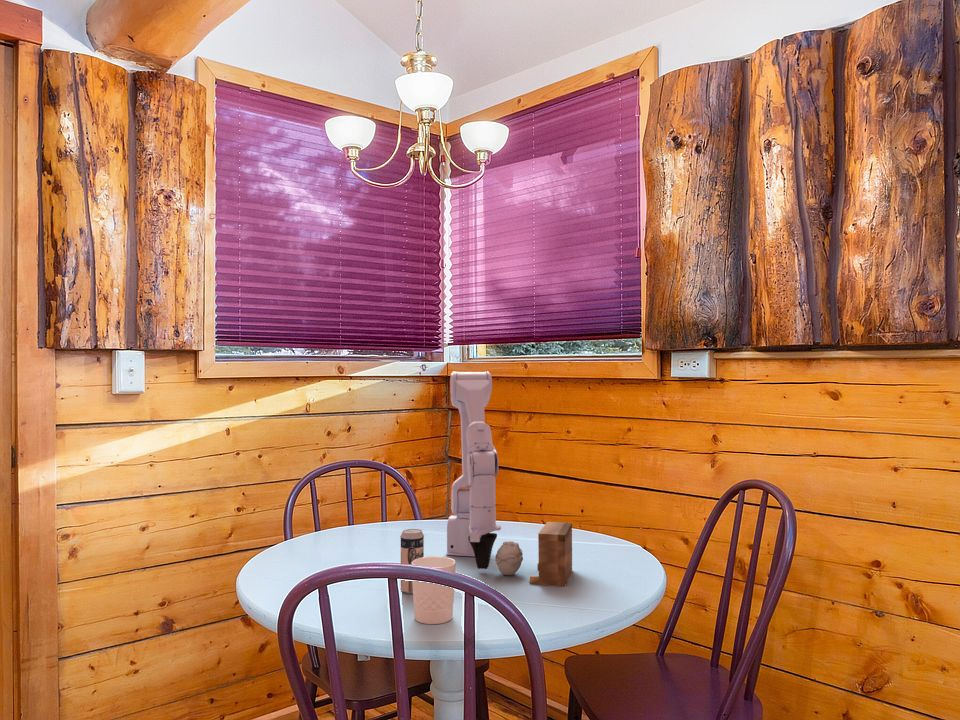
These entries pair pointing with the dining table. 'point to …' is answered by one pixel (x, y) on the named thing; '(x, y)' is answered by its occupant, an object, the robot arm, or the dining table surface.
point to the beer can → (411, 552)
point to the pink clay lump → (509, 558)
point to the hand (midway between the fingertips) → (482, 567)
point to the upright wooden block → (554, 554)
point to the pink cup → (433, 593)
